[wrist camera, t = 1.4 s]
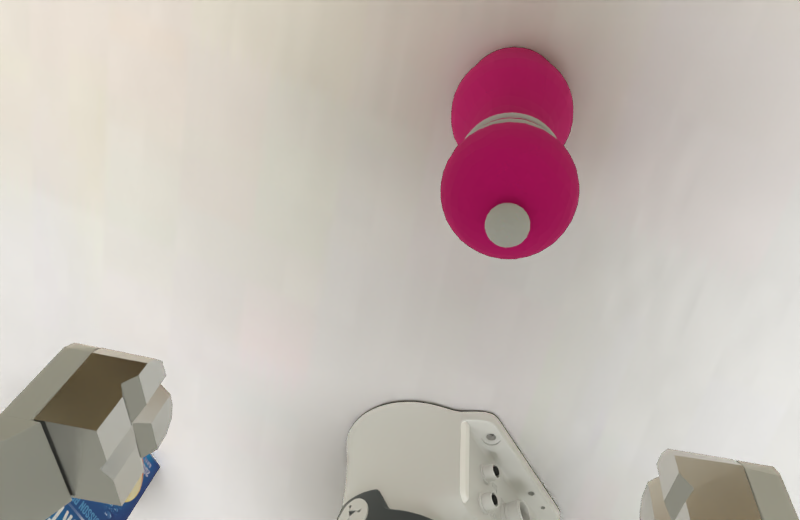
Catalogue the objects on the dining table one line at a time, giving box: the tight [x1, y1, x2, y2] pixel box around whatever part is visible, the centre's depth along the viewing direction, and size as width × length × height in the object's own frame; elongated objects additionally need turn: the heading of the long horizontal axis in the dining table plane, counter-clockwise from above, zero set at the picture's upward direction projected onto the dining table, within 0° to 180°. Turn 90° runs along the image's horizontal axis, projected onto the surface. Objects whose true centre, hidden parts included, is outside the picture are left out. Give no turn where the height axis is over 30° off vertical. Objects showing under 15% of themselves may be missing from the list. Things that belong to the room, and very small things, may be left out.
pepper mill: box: [441, 47, 579, 259], centre depth 32 cm, size 7×7×20 cm
